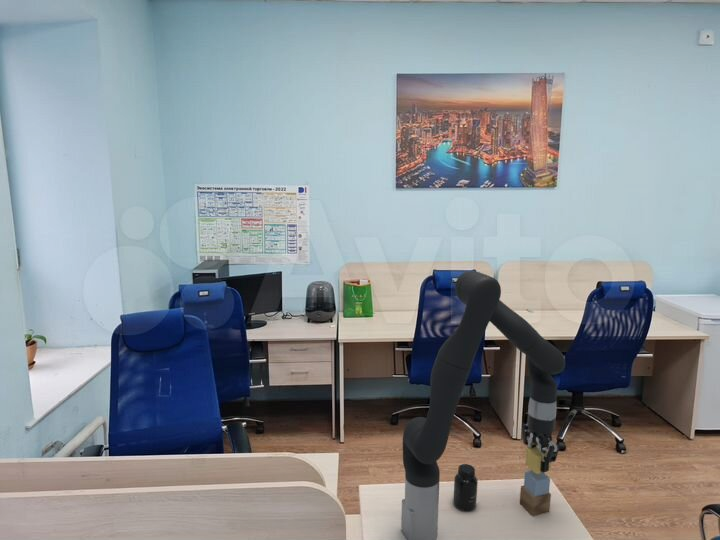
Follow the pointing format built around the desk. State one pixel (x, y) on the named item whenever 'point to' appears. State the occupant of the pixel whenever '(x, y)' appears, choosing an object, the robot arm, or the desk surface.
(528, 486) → the tower mid
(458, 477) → the supplement bottle
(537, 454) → the top block
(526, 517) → the desk surface
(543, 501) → the tower base
